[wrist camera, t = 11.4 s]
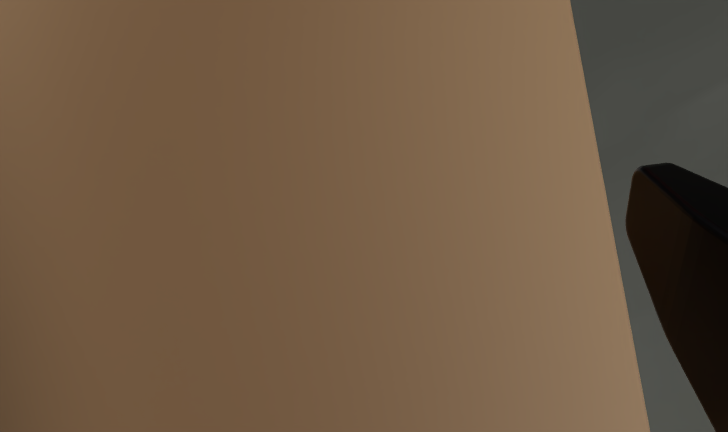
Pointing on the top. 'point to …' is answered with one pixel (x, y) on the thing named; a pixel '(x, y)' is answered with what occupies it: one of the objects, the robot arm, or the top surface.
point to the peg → (305, 220)
